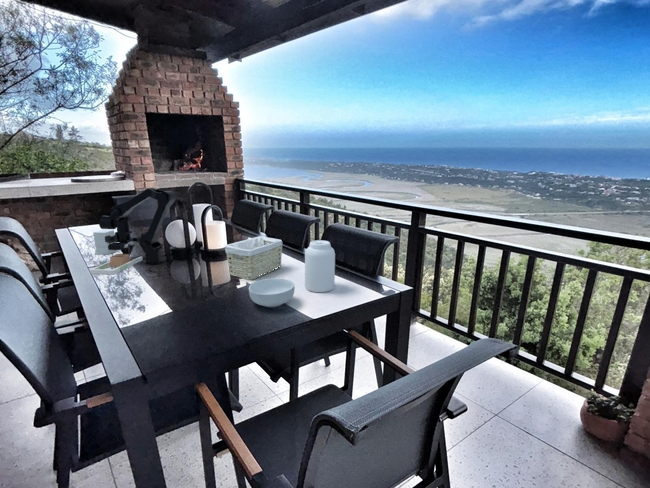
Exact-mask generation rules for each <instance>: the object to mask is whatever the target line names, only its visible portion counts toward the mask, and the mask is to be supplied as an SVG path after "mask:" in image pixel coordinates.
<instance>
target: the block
mask: <svg viewBox="0 0 650 488" xmlns="http://www.w3.org/2000/svg"><path fill="white" fill-rule="evenodd" d="M109 259H110V260H109V261H111V266H110V267H113V268H115V267H116V268H117V267H119V266H121V265H123V264H125V263H128V262H130V259H131V255H130V256H129V254H123V253H116V254H114V255H112V256H109Z"/></svg>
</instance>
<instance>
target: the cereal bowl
mask: <svg viewBox="0 0 650 488" xmlns="http://www.w3.org/2000/svg"><path fill="white" fill-rule="evenodd" d="M248 292H249V293H248V294H249V296H250V299H251V301H252V302H254V303H255V304H257V305H259V306H263V307H266V308H277V307H280V306H282V305H284V304H285V303H287V302H289V301H290V300H291V299H292V298H293V296H294V294H295V283H294V282H293V281H291V280H289V279H285V278H280V277H278V278H277V277H276V278H275V277H273V278H263V279H260V280H256V281H254V282H252V283H250V285H249V287H248Z"/></svg>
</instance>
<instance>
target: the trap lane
mask: <svg viewBox="0 0 650 488" xmlns="http://www.w3.org/2000/svg"><path fill="white" fill-rule="evenodd" d="M141 261H143V256H139V257H136V258H130V262H128V263H125V264H123V265H121V266H119V267H116V268H115V267H114V268H113V269H108V267H111V261H110V260H109V261H107V262H104V263H102V264H101V265H98V266H96V267H93V268H91V269H89V272H90V274H91V275H114V276H115V274H118V273H120V272H122V271H124V270H126V269H128V268H129V267H131V266H134V265H136V264H137V263H139V262H141Z"/></svg>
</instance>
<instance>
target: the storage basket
mask: <svg viewBox="0 0 650 488" xmlns="http://www.w3.org/2000/svg"><path fill="white" fill-rule="evenodd" d="M265 243H267V244H265ZM224 248H225V250H224V251H225V254H226V259H227V264H228V269H229V275H231V276H234V277H237V278H242V279H244V280H245V279H246V280H250V281H253V280H256V279H257V278H260V277H262V276H265V275H267V274H270V273H272V272H273V271H277V270H279V269H281V268H282V253H283V241H282V239H278V238H273V237H267V236H262V235H261V236H260V235H259V236H255V237H251V238H248V239H243V240H240V241H237V242H233V243H229V244H226V245H224ZM279 266H281V267H279ZM277 267H279V268H277ZM275 268H277V269H275ZM273 269H275V270H273ZM269 271H270V272H269ZM267 272H268V273H267ZM264 273H265V274H264ZM261 274H262V275H261ZM259 275H260V276H259Z"/></svg>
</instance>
